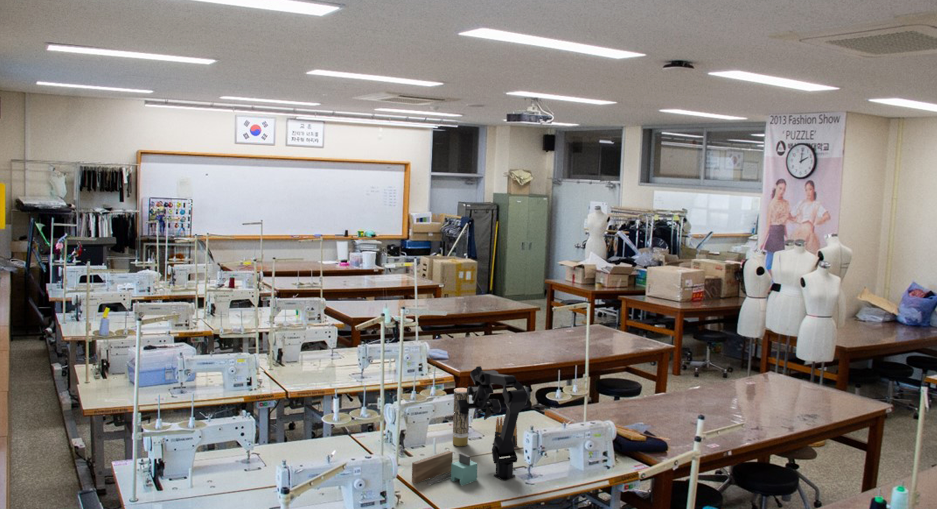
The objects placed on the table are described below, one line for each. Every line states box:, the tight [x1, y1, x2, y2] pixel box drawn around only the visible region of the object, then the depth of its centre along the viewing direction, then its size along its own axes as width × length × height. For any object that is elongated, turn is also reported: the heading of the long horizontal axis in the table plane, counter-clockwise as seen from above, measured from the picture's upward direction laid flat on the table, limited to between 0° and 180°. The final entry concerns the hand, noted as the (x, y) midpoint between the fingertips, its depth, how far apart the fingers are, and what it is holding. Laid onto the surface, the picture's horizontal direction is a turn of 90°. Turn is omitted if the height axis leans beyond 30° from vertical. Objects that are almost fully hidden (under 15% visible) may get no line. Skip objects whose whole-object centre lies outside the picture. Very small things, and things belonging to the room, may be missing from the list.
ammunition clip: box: [494, 416, 518, 448], centre depth 357 cm, size 11×2×12 cm, turn 61°
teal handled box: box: [450, 452, 478, 486], centre depth 315 cm, size 7×8×10 cm
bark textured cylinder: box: [452, 387, 470, 447], centre depth 354 cm, size 7×7×25 cm
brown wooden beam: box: [411, 450, 453, 486], centre depth 316 cm, size 7×20×8 cm, turn 135°
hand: (474, 419), depth 346 cm, fingers open, 9 cm apart
